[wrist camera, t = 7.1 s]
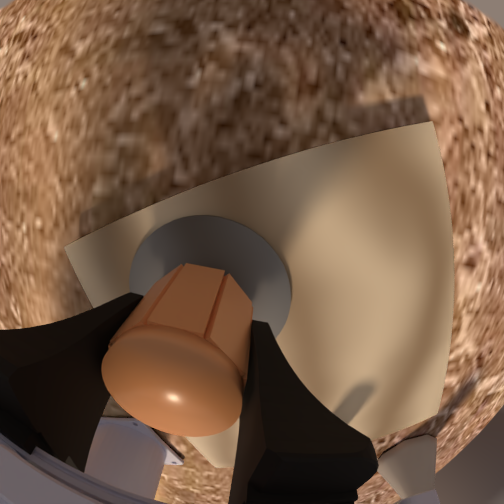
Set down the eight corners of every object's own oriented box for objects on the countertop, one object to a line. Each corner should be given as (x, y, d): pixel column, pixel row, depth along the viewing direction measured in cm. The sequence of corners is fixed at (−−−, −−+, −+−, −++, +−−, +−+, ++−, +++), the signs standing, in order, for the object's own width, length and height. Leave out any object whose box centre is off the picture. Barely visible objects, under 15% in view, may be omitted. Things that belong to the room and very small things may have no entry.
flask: (403, 433, 19) (430, 513, 10) (445, 431, 20) (473, 496, 10) (362, 468, 22) (375, 539, 12) (406, 465, 22) (423, 526, 13)
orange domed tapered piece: (153, 339, 13) (112, 415, 8) (154, 256, 11) (91, 320, 6) (242, 358, 13) (231, 446, 8) (259, 276, 11) (254, 360, 6)
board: (217, 455, 21) (210, 503, 16) (78, 239, 14) (16, 275, 9) (431, 402, 18) (453, 447, 13) (417, 123, 11) (485, 115, 6)
